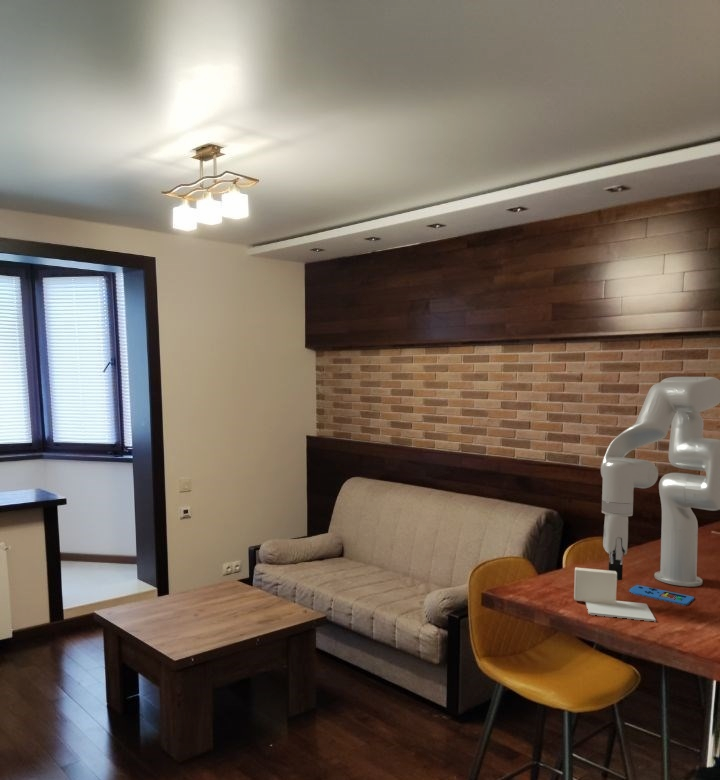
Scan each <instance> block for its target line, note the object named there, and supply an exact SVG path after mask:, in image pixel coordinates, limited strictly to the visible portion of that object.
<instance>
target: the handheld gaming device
mask: <svg viewBox="0 0 720 780" xmlns="http://www.w3.org/2000/svg"><path fill="white" fill-rule="evenodd" d="M628 591H629V593H630V592H631V594H632V593H633V595H636V596H640V595H642V596H641V597H644V596H646V598H649V597H650V599H653V598H654V599H655V600H658V599H659V601H662V600H664V601H663V602H667V601H669V602H668V603H671V602H672V603H673V604H675V603H677V604H676V605H680V604H681V605H680V606H685V605H687V606H688V605H690V602H691V601H692V602H693V601H694V600H695V597H694V596H691V595H687V594H683V593H678V592H673V591H668V590H663V589H660V588H659V589H658V588H654V587H649V586H646V585H645V586H644V585H641V584H636V585H634V586H633V587H631V588H629V590H628ZM665 593H666V594H665ZM669 594H671V595H675V596H676V597H675V596H674V597H675V598H676V599H675V598H674V597H673V598H670V597H668V596H667V595H669ZM677 596H678V597H677ZM674 599H675V600H674ZM681 600H682V601H681ZM692 602H691V603H692Z"/></svg>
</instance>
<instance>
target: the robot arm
mask: <svg viewBox="0 0 720 780" xmlns="http://www.w3.org/2000/svg"><path fill="white" fill-rule="evenodd" d="M719 404H720V379H719V378H717V377H714V376H672V377H666V378H664V379H662V380H661V381H660V382H656V383H654V384H653V385H652V386H651V387H650V388H649V390H648V392H647V393H646V397H645V399H644V402H643V404H642V406H641V409H640V411H639V414H638V416H637V419H636V421H635V423H634V424H633V425H631V426H629V427H628V428H626V429H625V430H623V431H622V432H621V433H619V434H618V435H617V436H616V437H615V438H614V439H612V441H611V442H610V443H609V445H608V446H607V448H606V451H605V454H604V456H603V458H602V461H601V464H600V465H601V466H600V475H601V478H602V484H601V485H602V489H601V491H602V494H601V513H602V514H604V524H603V539H602V540H603V541H602V546H603V549H604V550H605V552H606V553H607V554H609V560H608V570H609V571H616V572H617V581H622V580H623V571H624V570H623V567H624V566H623V565H624V564H623V558H624V555H627V553H628V543H629V517H632V516H634V515H633V514H634V490H635V488H639V489H648V488H650V487H652V486H654V485H655V484H656V482H657V481H658V480H659V479H658V478H659V470H658V468H657V465H655V464H654V463H653V462H651V461H649V460H646V459H641V458H631V457H626V456H627V454H629V453H630V452H632V451H633V450H636V449H637V448H639V447H643V446H646V445H651V444H653V443H655V442H660V441H661V440H663V439H665V438H666V437H667V435H668V433H669V430H670V433H669V434H670V435H669V444H668V456H667V457H668V461H669V463H670V465H671V466H673V467H675V468H679V469H682V470H683V469H684V470H692V471H701V472H705V475H698V474H695V473H694V474H691V473H684V472H670V473H666V474H664V475H663V476H661V478H660V480H659V482H658V490H659V491H658V493H659V497H660V504H661V505H660V506H661V528H660V529H661V532H660V533H661V535H660V536H661V537H660V567H659V568H660V570H658V571H655V572H654V578H655V579H656V580H657V581H659V582H662V583H665V584H668V585H674V586H679V587H689V588H690V587H699V586H702V585H703V578H701V577H700V576H697V570H698V568H697V567H698V536H699V535H698V534H699V531H698V530H699V528H698V527H699V524H698V519H697V517H696V514H695V513H694V512H693V510H692V508H693V509H699V510H705V511H714V512H715V511H720V439H717V438H707V437H706V438H705V437H703V436H704V425H705V424H704V420H703V417H702V415H701V414H700V413H701V412H705V411H707V410H709V409H712V408H715V407H716V406H718V405H719Z"/></svg>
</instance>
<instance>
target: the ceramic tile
mask: <svg viewBox="0 0 720 780" xmlns="http://www.w3.org/2000/svg"><path fill="white" fill-rule="evenodd" d="M617 582H618V580H617V572H616V571H609V569H608V570H607V569H598V568H597V569H596V568H586V567H574V586H573V587H574V588H573V590H574V591H573V598H574V601H576V602H577V601H579V602H585V601H587V602H596V603H606V604H615V605H616V601H617V585H618V584H617Z"/></svg>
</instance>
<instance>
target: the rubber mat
mask: <svg viewBox="0 0 720 780" xmlns="http://www.w3.org/2000/svg"><path fill="white" fill-rule="evenodd" d="M584 603H585V606H586V609H588V610H587V613H588V615H589V614H590V615H589V616H595V615H597V617H598V616H599V617H604V616H605V618H613V617H617V618H616V619H622V618H627V619H626V620H631V619H634V620H633V621H640V620H644V621H643V622H649V621H654V622H653V623H656V622H657V619H656V618H655V616H654V614H653V612H652V611H651V609H650V608H649V606H648V604H647V603H643V602H632V601H624V600H623V601H622V600H616V605H615V604H606V603H596V602H587V601H584Z"/></svg>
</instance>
